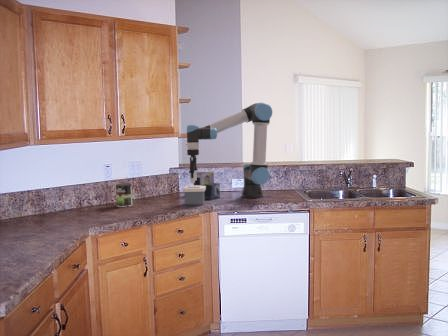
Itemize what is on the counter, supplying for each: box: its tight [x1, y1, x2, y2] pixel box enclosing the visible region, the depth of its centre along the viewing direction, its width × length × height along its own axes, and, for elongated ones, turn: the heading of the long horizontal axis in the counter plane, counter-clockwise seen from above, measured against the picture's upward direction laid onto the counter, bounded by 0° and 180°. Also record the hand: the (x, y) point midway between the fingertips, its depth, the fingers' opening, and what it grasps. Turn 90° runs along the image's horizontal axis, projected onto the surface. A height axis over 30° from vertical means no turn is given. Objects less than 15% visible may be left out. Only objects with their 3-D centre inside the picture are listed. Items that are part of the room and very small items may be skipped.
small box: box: [204, 182, 221, 201], centre depth 334 cm, size 11×6×10 cm, turn 143°
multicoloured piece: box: [115, 183, 133, 208], centre depth 315 cm, size 10×10×14 cm
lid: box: [182, 184, 206, 193], centre depth 314 cm, size 14×12×3 cm
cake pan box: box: [192, 170, 215, 186], centre depth 352 cm, size 19×5×18 cm, turn 43°
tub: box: [184, 192, 206, 206], centre depth 314 cm, size 12×8×9 cm, turn 88°
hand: (193, 181), depth 313 cm, fingers open, 13 cm apart
